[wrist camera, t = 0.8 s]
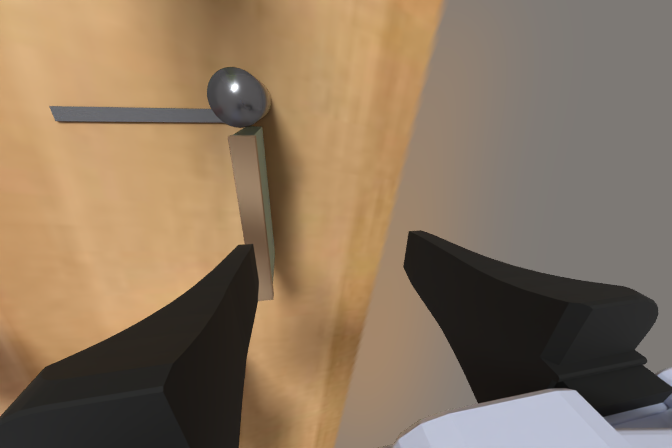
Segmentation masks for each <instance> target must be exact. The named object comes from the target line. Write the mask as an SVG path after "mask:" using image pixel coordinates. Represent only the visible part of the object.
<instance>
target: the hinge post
mask: <svg viewBox="0 0 672 448" xmlns="http://www.w3.org/2000/svg"><path fill="white" fill-rule="evenodd" d="M207 97H208V102H209V105H210V107H211V109H212V111H213V112H214V114H215V115H216V116H217V117H218V118H219V119H220V120H221V121H223V122H224V123H226V124H228V125H230V126H233V127H239V128H241V127H248V126H250V125H252V124H254V123H256V122H257V121H258V120H260V119H261V118H263V117H264V116H265V115H266V114H267V113H268V112H269V110H270V107H271V96H270V93H269V91H268V89H267V88H266V87H265V86H264V85H263V84H262V83H261V82H260V81H258V80H257V79H256V78H255V77H253V76H252V75H251V74H249V73H248V72H246V71H245V70H242V69H240V68H235V67H227V68H223V69H220V70H219V71H217V72H216V73H215V74H214V75H213V76H212V77H211V79H210V81H209V83H208V88H207Z"/></svg>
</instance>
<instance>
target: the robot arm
mask: <svg viewBox="0 0 672 448" xmlns="http://www.w3.org/2000/svg"><path fill="white" fill-rule="evenodd" d="M404 269H405V271H406V273H407V276H408V278H409V280H410V282H411V284H412V285H413V287H414V288H415V290H416V291H417V293H418V295H419V296H420V298H421V299H422V300H423V302H424V303H425V305H426V306H427V308H428V309H429V311H430V312H431V314H432V315H433V317H434V318H435V320H436V321H437V323H438V324H439V326H440V328H441V329H442V331H443V333H444V334H445V336H446V338H447V340H448V342H449V344H450V346H451V348H452V349H453V351H454V353H455V355H456V357H457V359H458V361H459V363H460V365H461V367H462V369H463V372H464V374H465V375H466V378H467V380H468V382H469V385H470V387H471V389H472V391H473V393H474V395H475V398H476V400H477V402H478V404H474V405H470V406H464V407H460V408H455V409H450V410H445V411H442V412H440V413H437V414H434V415H431V416H428V417H426V418H423V419H420V420H419V421H417V422H416V423H414V424H413V425H411V426H410V427H409V428H407V429H406V430H404V431H403V432H401V433H400V435H399V436H398V438H397V439H396V441H395V442H394V444H392V445H387V446H383V447H379V448H672V367H670V368H666V369H663V370H660V371H659V372H657V373H656V374H654V373H653V372H651V371H650V370H648V369H647V368H645V367H644V366H643V364H646V362H647V359H646V358H645V357H644V356H642V355H641V354H640V353H638V352H637V351H635V348H636V347H637V346H638V345H639V343H640V342H641V341H642V339H643V338H644V337H645V336H646V334H647V333H648V332H649V330H650V329H651V327H652V326H653V324H654V323H655V321H656V319H657V316H658V307H657V304H656V303H655V302H654V301H653V300H652V299H650V298H648V297H646V296H644V295H642V294H641V293H639V292H637V291H635V290H633V289H630V288H627V287H624V286H617V285H610V284H602V283H595V282H588V281H581V280H575V279H570V278H564V277H559V276H554V275H549V274H545V273H540V272H536V271H532V270H528V269H524V268H520V267H516V266H513V265H510V264H506V263H503V262H500V261H497V260H494V259H491V258H488V257H485V256H483V255H480V254H478V253H475V252H472V251H470V250H467V249H465V248H463V247H460V246H458V245H456V244H453V243H451V242H448V241H446V240H444V239H442V238H439V237H437V236H435V235H432V234H429V233H427V232H424V231H409V234H408V241H407V247H406V253H405V260H404ZM258 292H259V278H258V271H257V265H256V258H255V252H254V246H253V244H245V245H238V246H237V247H236V248H235V249H234V250H233V251H232V252H231V253H230V254H229V255H228V256H227V257H226V258H225V259H224V260H223V261H222V262H221V263H220V264H219V265H218V266H216V267H215V268H214V269H213V270H212V271H211V272H210V273H209V274H208V275H206V276H205V277H204V278H203V279H202V280H201V281H199V282H198V283H197V284H196V285H195V286H193V287H192V288H191V289H189V290H188V291H187V292H185V293H184V294H183V295H181V296H180V297H178V298H177V299H176V300H174V301H173V302H171V303H170V304H168V305H167V306H165V307H163V308H162V309H160V310H158V311H157V312H155V313H153V314H152V315H150V316H149V317H147V318H145V319H144V320H142V321H140V322H138V323H137V324H135V325H133V326H131V327H129V328H127V329H126V330H124V331H122V332H120V333H118V334H116V335H114V336H112V337H110V338H108V339H106V340H104V341H102V342H100V343H98V344H96V345H94V346H91V347H89V348H87V349H85V350H83V351H80V352H78V353H76V354H74V355H72V356H69V357H67V358H65V359H63V360H60V361H58V362H56V363H54V364H51V365H49V366H47V367H45V368H44V369H43V370H42V371H41V372H40V373H39V374H38V376H37V377H36V378H35V379H34V380H33V381H32V382H31V383H30V384H29V385H28V387H27V388H26V389H25V390H24V391H23V392H22V393H21V394H20V395H19V396H18V398H17V399H16V400H15V401H14V402H13V403H12V404H11V405H10V406H9V408H8V409H7V410H6V411H5V412H4V413H3V414H2V415H1V416H0V448H239V435H240V422H241V410H242V399H243V387H244V378H245V368H246V359H247V353H248V347H249V342H250V337H251V333H252V328H253V323H254V318H255V313H256V308H257V303H258Z"/></svg>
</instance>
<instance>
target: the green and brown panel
mask: <svg viewBox="0 0 672 448" xmlns="http://www.w3.org/2000/svg"><path fill="white" fill-rule="evenodd" d="M228 141H229V148H230V154H231V160H232V167H233V173H234V179H235V185H236V192H237V198H238V204H239V211H240V217H241V223H242V229H243V236H244V242H245V244H253V246H254V252H255V258H256V265H257V271H258V278H259V292H258V301H264V300H273V296H274V292H273V274H274V260H275V249H274V239H273V229H272V219H271V209H270V199H269V189H268V179H267V169H266V159H265V149H264V139H263V129H262V126H248V127H245V128H243V129H242V130H240V131H239V132H237V133H235V134H234V135H230V136H228Z"/></svg>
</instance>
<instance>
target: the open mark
mask: <svg viewBox="0 0 672 448" xmlns="http://www.w3.org/2000/svg"><path fill="white" fill-rule="evenodd" d="M49 107H50V109H51V111H52V114H53V116H54V118H55V121H107V122H223V121H221V120H220V119H219V118H218V117H217V116H216V115H215V114H214V112H213V111H212V109H180V108H121V107H62V106H49ZM223 123H224V122H223Z"/></svg>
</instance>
